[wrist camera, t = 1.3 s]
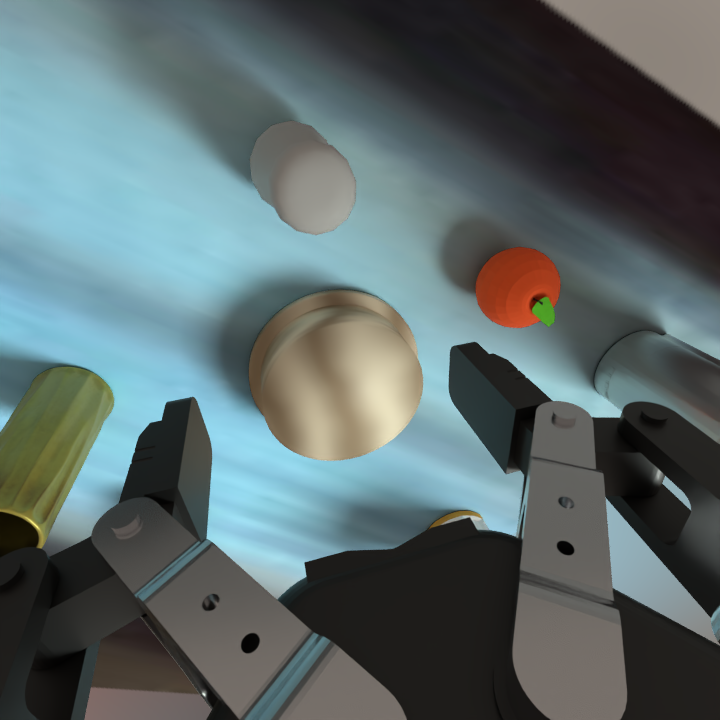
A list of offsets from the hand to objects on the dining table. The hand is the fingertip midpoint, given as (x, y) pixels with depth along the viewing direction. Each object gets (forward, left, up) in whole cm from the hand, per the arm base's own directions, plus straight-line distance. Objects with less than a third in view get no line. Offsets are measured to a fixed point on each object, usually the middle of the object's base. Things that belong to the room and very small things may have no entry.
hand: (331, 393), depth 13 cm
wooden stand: (-2, +14, -23) cm, 27 cm away
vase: (+20, +10, -23) cm, 32 cm away
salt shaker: (-2, -4, -23) cm, 24 cm away
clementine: (-19, +9, -24) cm, 31 cm away
